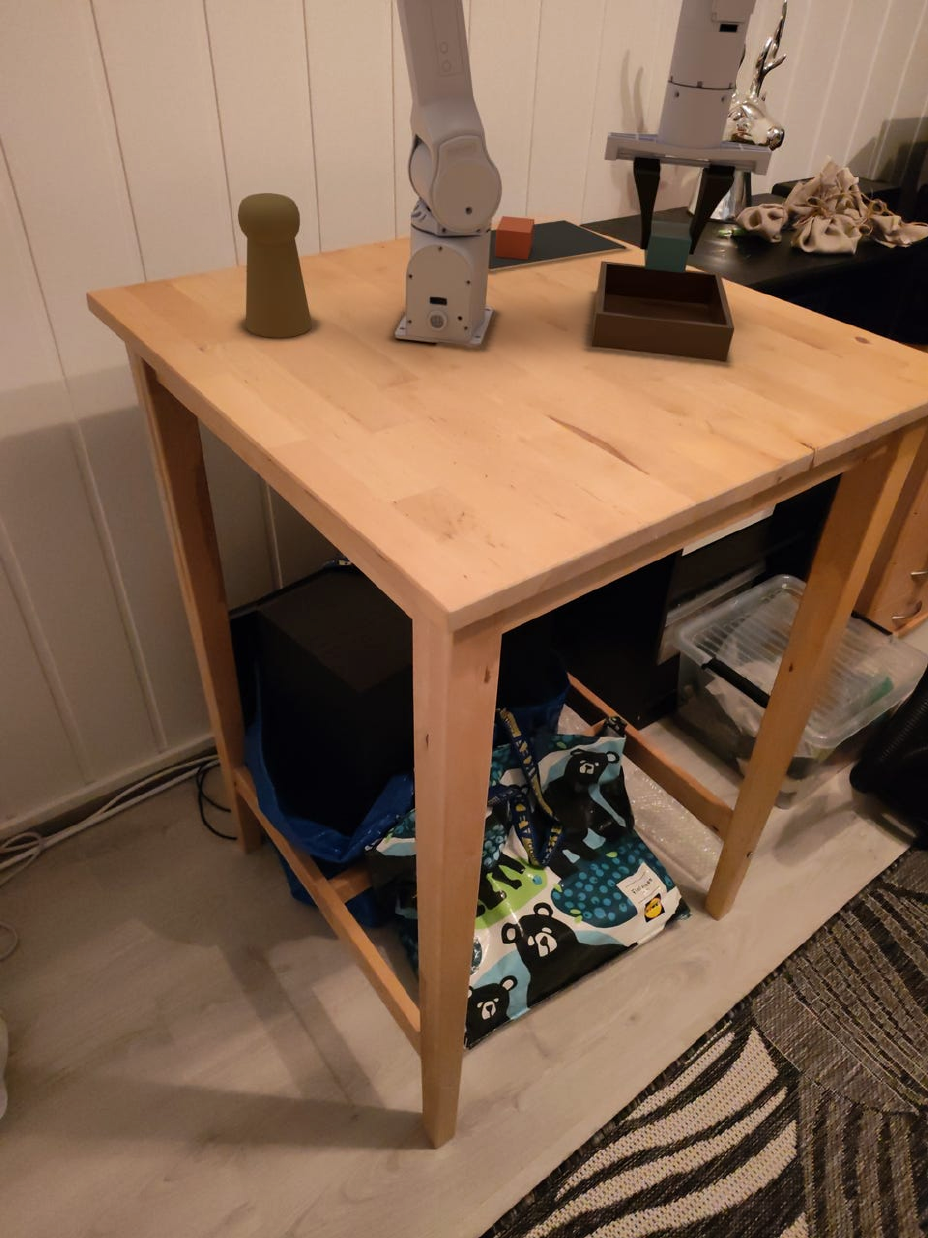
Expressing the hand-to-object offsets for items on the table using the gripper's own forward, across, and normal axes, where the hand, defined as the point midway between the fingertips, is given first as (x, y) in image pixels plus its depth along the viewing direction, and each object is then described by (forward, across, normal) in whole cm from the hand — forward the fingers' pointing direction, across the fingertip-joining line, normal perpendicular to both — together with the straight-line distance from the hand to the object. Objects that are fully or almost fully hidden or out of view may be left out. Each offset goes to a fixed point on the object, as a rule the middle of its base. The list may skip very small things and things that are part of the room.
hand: (666, 249), depth 81 cm
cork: (+7, +35, +14) cm, 38 cm away
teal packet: (+1, 0, 0) cm, 1 cm away
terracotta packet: (+6, +16, -14) cm, 22 cm away
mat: (+6, +14, -18) cm, 24 cm away
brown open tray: (+6, 0, +4) cm, 7 cm away
